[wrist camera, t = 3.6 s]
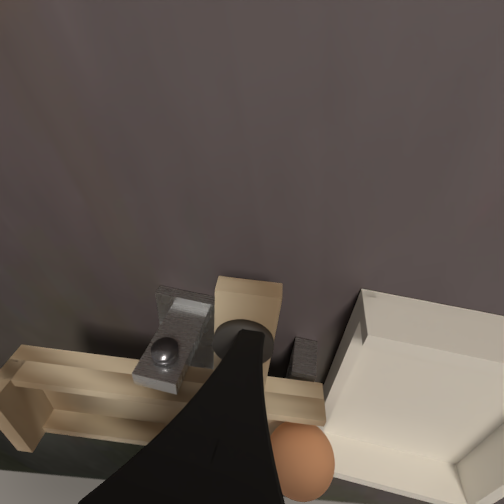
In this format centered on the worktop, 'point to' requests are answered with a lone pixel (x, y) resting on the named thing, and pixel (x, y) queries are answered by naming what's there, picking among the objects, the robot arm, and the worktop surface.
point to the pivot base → (197, 343)
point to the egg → (302, 460)
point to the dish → (419, 400)
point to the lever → (139, 397)
